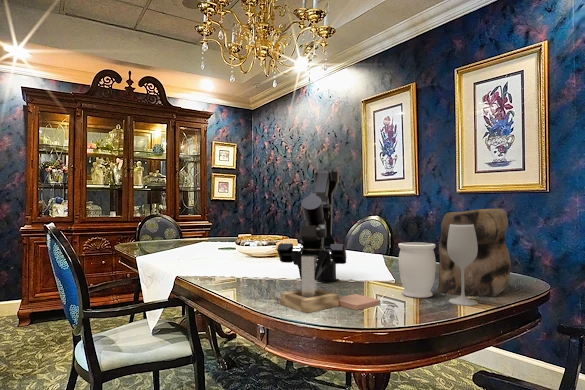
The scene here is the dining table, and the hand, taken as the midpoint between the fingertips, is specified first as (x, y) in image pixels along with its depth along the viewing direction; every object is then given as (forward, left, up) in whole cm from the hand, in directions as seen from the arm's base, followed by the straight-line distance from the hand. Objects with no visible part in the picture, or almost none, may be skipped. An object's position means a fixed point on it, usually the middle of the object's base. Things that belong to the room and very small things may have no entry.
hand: (308, 278), depth 104 cm
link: (-1, -1, -7) cm, 7 cm away
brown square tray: (-1, -1, -7) cm, 7 cm away
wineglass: (-35, +23, -7) cm, 43 cm away
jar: (-33, +10, -7) cm, 35 cm away
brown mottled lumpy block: (-52, +17, -7) cm, 55 cm away
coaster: (-12, +6, -7) cm, 15 cm away
